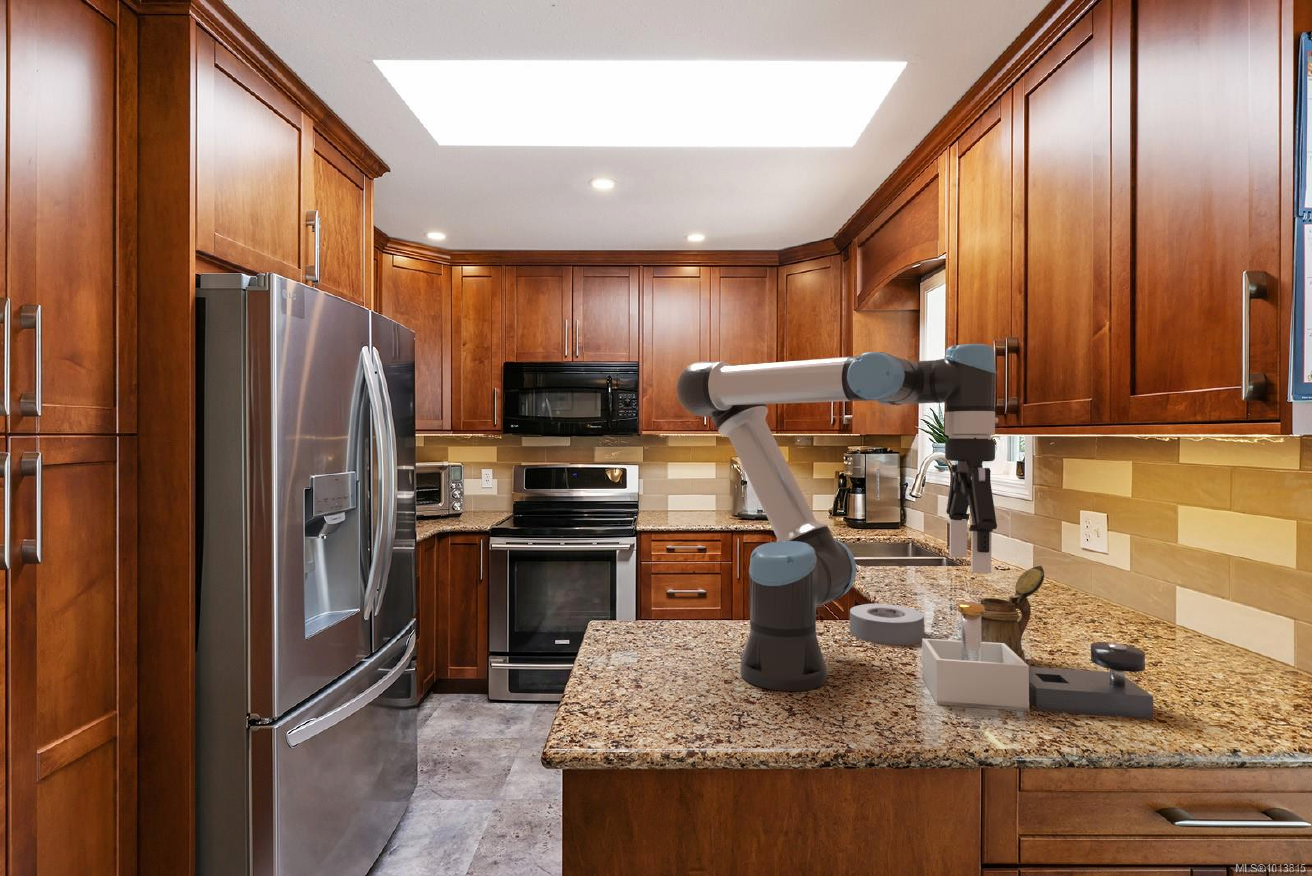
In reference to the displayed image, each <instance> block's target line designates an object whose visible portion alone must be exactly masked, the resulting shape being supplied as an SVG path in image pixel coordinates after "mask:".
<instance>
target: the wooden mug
mask: <svg viewBox="0 0 1312 876" xmlns="http://www.w3.org/2000/svg"><path fill="white" fill-rule="evenodd" d="M1044 580H1045V571H1044V567H1043V566H1042V565H1037V566H1033V567H1031V568H1029V569H1027V570H1025V571H1023V572H1022V573H1021V574H1020V575H1019V577H1018V579H1017V581H1016V582H1015V583H1016V584H1015V594H1014V595H1013V596H1009V598H1008V600H1006V599H1002V598H997V597H995V598H994V597H983V598H981V599H980V604H982V605H984V606H985V614H984V615H981V642H992V643H1005V644H1006V645H1007V646H1008V647H1009V648H1010V649H1011V650H1012V651H1013V652H1014V653H1015V654H1016V655H1017V656H1019V657H1020V658H1021V659H1022V660H1023V661H1024V662H1025V663H1026V664H1027V662H1026V658H1025V656H1026V655H1025V651H1024V650H1023V648H1022V637H1023V634H1024V633H1025V630H1026V628H1027V627H1028V624H1029V621H1030V619H1031V613H1032V612H1031V604H1030V601H1029V599H1028V597H1030V596H1031V595H1034V594H1035V593H1037V591H1038V590H1039V589H1040V587H1041V586H1042V584H1043V582H1044ZM1017 610H1019V611H1020V615H1021V616H1020V615H1019V612H1018V611H1017Z"/></svg>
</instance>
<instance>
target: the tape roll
mask: <svg viewBox="0 0 1312 876" xmlns="http://www.w3.org/2000/svg"><path fill="white" fill-rule="evenodd" d="M849 632H850V634H851V635H852V637H855V638H856V639H859V640H863V641H865V642H869V643H874V644H880V645H887V646H888V645H889V646H909V645H910V646H911V645H916V644H920V643H922V638H923V639H925V616H924V614H923V613H922V611H919V610H917V609H915V608H911V607H908V606H903V605H897V604H889V603H864V604H860V605H855V606H853V607H851V608H850V609H849Z"/></svg>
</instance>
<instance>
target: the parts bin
mask: <svg viewBox="0 0 1312 876" xmlns="http://www.w3.org/2000/svg"><path fill="white" fill-rule="evenodd" d="M1029 667H1030V666H1029V665H1028V664H1027V662H1026V663H1025V662H1024V661H1023V660H1022V659H1021V658H1020V657H1019V656H1017V655H1016V654H1015V653H1014V652H1013V651H1012V650H1011V649H1010V648H1009V647H1008V646H1007V645H1006V644H1005V643H992V642H981V661H966V660H961V640H954V639H938V638H937V639H936V638H924V639H923V638H922V642H921V669H922V670H921V672H922V673H921V674H922V675H921V676H922V681H923V683H924V685H926V687H927V689H928V691H929V692H930V694H931V696H932V698H933V700H934V702H935V704H936V705H941V706H953V707H954V706H955V707H963V708H964V707H965V708H966V707H967V708H979V709H992V710H1004V711H1007V710H1008V711H1016V712H1030V703H1029Z"/></svg>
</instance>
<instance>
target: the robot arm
mask: <svg viewBox="0 0 1312 876" xmlns="http://www.w3.org/2000/svg"><path fill="white" fill-rule="evenodd" d="M995 355H996V354H995V349H994V348H993V346H990V345H989V344H985V343H965V344H958V345H951V346H949V347H947V348H946V351H945V355H944V358H940V359H934V360H933V359H932V360H915V361H912V360H908V359H907V358H906V359H905V358H901V357H899V356H898V357H897V356H895V355H891V354H890V353H886V352H884V351H868V352H867V351H866V352H864V353H862V354H859V355H857V356H856V355H855V356H843V357H829V358H819V359H818V358H816V359H804V360H792V361H791V360H790V361H779V362H765V363H754V364H753V363H752V364H740V365H738V364H735V365H734V364H730V363H728V362H727V361H709V360H708V361H706V360H705V361H702V360H701V361H697V362H693V363H691V364H689V365H688V366H686V367H685V368H684V370H683V371H682V372H681V374H680V375H679V377H678V379H677V384H676V394H677V399H678V401H679V403H680V404H681V406H682V407H683V408H684V409H685V410H686V411H687V412H689V413H691V414H693V415H695V416H698V417H704V418H711V419H712V422H713V424H714V426H715V427H716V430H717V431H718V434H720V435H721V436H723V437H727V438H729V441H730V442H731V444H732V447H733V449H734V450H735V454H736V455H737V457H738V459H739V461H740V463H741V465H742V468H743V470H744V472H745V474H746V475H747V478H748V480H749V482H750V484H751V486H752V488H753V491H754V493H755V494H756V498H757V499H758V501H759V504H760V505H761V507H762V510H763V512H764V514H765V515H766V518H767V520H768V522H769V524H770V526H771V529H772V530H773V532H774V535H775V538H776V542H773V541H771V542H767V543H763V544H760V545H759V546H756V547H755V548H754V549H753V550H752V551H751V554H750V559H749V561H750V562H749V563H750V564H749V568H748V575H749V616H750V617H749V622H750V624H749V627H750V629H749V634H748V636H747V641H746V644H745V647H744V650H743V653H742V656H741V659H740V676H741V677H742V679H743V680H745V681H746V682H748V683H749V684H752V685H754V686H756V687H760V688H763V689H768V690H772V691H773V690H774V691H781V692H801V691H809V690H813V689H816V688H819V687H821V686H822V685H824V684H825V683H826V681H827V665H826V662H825V659H824V655H823V653H822V650H821V646H820V644H819V641H818V637H817V631H816V630H817V629H816V628H817V625H816V622H817V615H816V612H817V611H816V609H817V608H819V607H820V606H823V605H826V604H828V603H831V602H835V600H836V601H837V600H838V599H840V598H841V597H842V596H844V595H846V593H848V592H849V591H850V590H851V588H852V587H853V585H854V583H855V579H856V577H857V563H856V560H855V557H854V555H853V553H852V551H851V550H850V548H848V546H847V545H846V544H845V543H843V542H840V541H839V540H837V539H835V538H834V536H833V534H832V532H831V530H830V529H829V526H828V525H827V524H826V523H823V522H819V521H818V520H817V519H816V518H815V514H813V512H812V509H811V508H810V506H809V503H808V502H807V500H806V497H805V496H804V494H803V492H802V489H801V488H800V486H799V484H798V482H797V480H796V478H795V476H794V474H793V473H792V470H791V468H790V466H789V464H788V462H787V460H786V459H785V456H784V455H783V453H782V451H781V448H780V447H779V445H778V443H777V441H776V439H775V437H774V435H773V433H772V431H771V429H770V427H769V425H768V423H767V421H766V419H767V415H768V413H769V410H768V407H767V405H769V404H770V405H775V404H776V405H777V404H801V403H803V404H805V403H806V404H808V403H830V402H832V403H833V402H834V403H835V402H837V403H838V402H870V401H871V402H874V401H875V402H877V403H879V404H880V405H891V406H902V405H916V404H917V405H918V404H944V405H945V409H944V410H945V412H944V434H945V436H948V438H946V440H944V449H945V450H944V458H945V460H946V461H950V462H951V461H952V462H957V464H951V467H950V470H951V475H950V482H949V483H950V485H949V489H948V499H947V504H946V510H945V511H946V514H947V515H948V518H949V557H951V558H953V557H954V558H968V531H969V532H971V534H970V535H971V537H970V538H971V541H970V543H971V544H970V545H971V549H970V552H971V553H970V554H971V555H970V556H971V557H970V558H971V559H970V562H971V563H970V572H971V573H973V574H974V573H975V574H992V533H993V530H996V529H997V528H998V524H997V517H996V510H995V503H994V498H993V497H994V496H993V491H992V489H993V488H992V483H991V469H990V467H984V465H983V462H993V461H995V459H996V441H995V440H994V439H993V438H992V436H994V435H995V434H996V424H998V422H999V420H1000V419H999V418H998V417H996V386H997V385H996V382H997V371H996V370H997V369H996V356H995ZM968 509H969V511H970V515H969V513H968ZM970 516H971V517H970ZM970 518H971V522H972V524H970V525H969V528H968V521H969V520H970Z"/></svg>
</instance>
